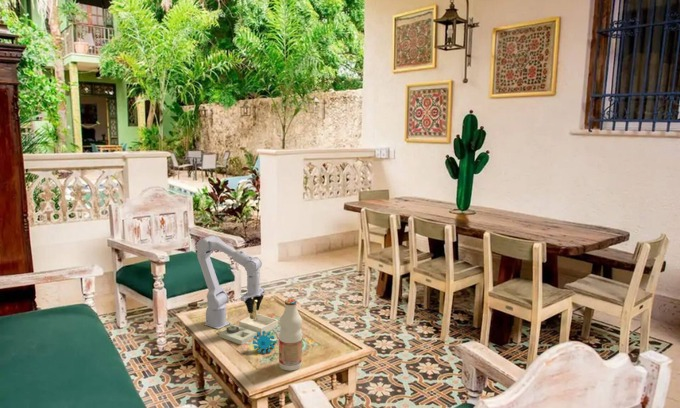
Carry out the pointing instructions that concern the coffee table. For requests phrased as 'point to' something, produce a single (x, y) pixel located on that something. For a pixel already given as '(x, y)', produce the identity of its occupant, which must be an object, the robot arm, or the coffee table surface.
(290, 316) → the fruit juice
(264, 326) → the tray
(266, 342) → the gear
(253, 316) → the pin
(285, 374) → the coffee table surface
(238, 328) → the block
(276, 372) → the coffee table surface
